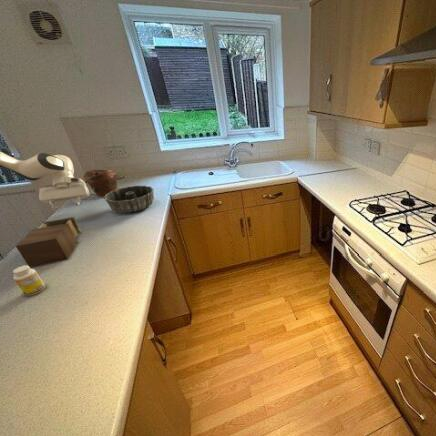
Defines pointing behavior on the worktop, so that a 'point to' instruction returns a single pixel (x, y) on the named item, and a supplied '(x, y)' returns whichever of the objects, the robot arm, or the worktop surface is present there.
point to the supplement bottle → (28, 280)
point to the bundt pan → (130, 198)
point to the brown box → (47, 245)
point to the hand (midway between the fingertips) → (66, 206)
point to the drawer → (70, 221)
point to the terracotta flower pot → (101, 181)
